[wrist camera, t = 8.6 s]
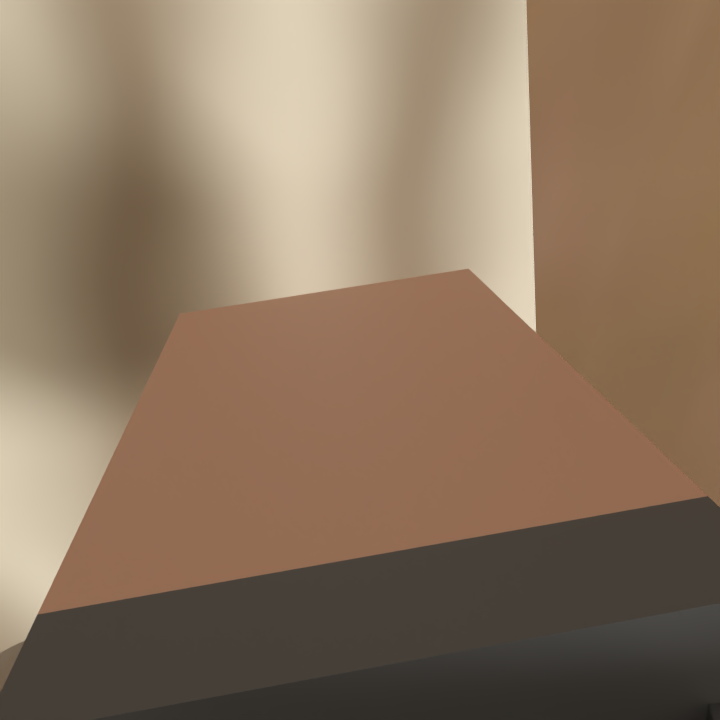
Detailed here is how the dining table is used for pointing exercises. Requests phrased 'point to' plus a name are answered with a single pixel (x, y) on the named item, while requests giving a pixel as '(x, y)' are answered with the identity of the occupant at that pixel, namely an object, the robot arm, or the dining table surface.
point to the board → (225, 200)
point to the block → (378, 531)
